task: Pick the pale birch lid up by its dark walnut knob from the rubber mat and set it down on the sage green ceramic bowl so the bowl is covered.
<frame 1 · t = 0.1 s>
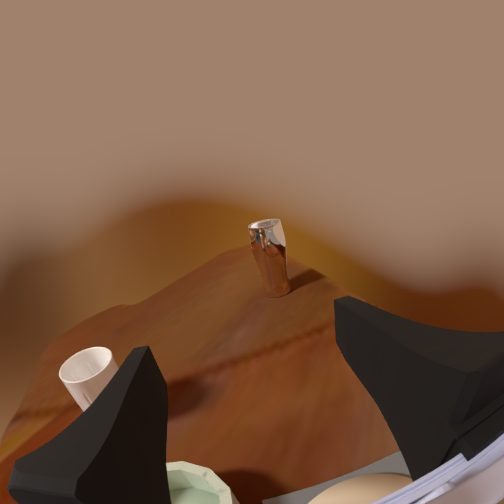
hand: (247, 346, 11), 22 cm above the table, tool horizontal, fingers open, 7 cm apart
beer glass: (277, 291, 66), on the table
white cup: (118, 419, 35), on the table
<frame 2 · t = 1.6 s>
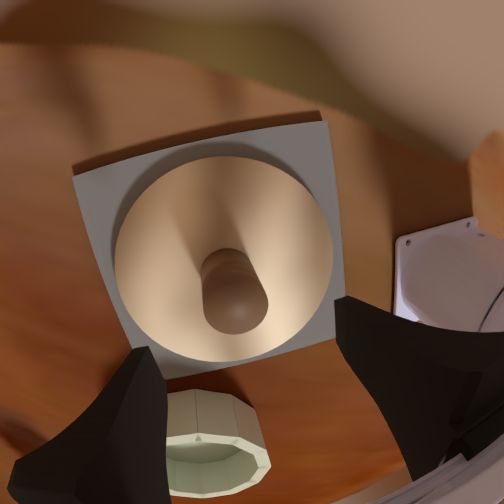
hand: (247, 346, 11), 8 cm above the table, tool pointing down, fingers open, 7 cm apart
lid: (225, 267, 18), point 1 cm above the table, touching mat
bowl: (197, 431, 24), on the table
mat: (224, 264, 19), on the table
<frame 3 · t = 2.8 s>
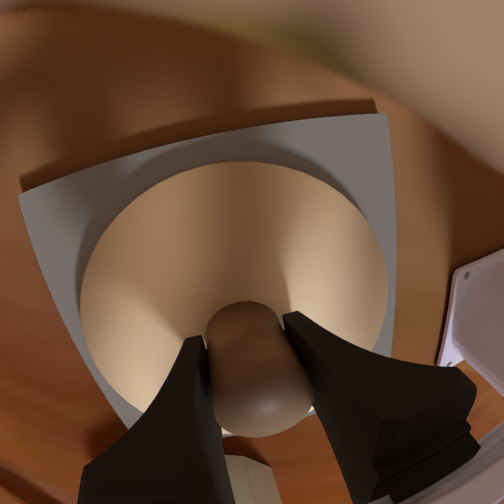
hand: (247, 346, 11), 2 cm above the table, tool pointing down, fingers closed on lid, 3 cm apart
lid: (240, 323, 13), point 1 cm above the table, touching gripper, mat
bowl: (202, 488, 18), on the table
mat: (238, 316, 13), on the table
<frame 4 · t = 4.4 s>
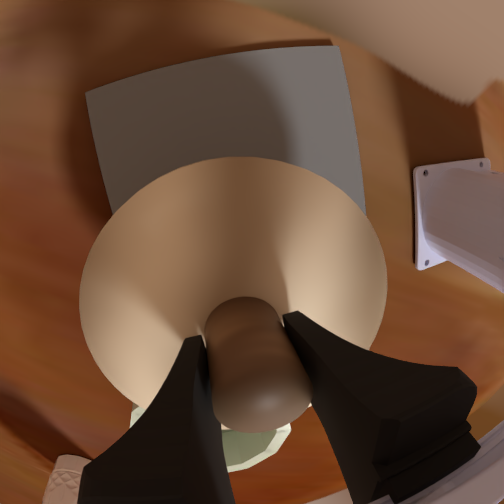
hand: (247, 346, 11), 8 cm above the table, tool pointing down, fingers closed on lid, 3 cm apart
lid: (239, 319, 13), point 7 cm above the table, touching gripper
bowl: (205, 394, 22), on the table
mat: (240, 182, 18), on the table
white cup: (83, 468, 24), on the table
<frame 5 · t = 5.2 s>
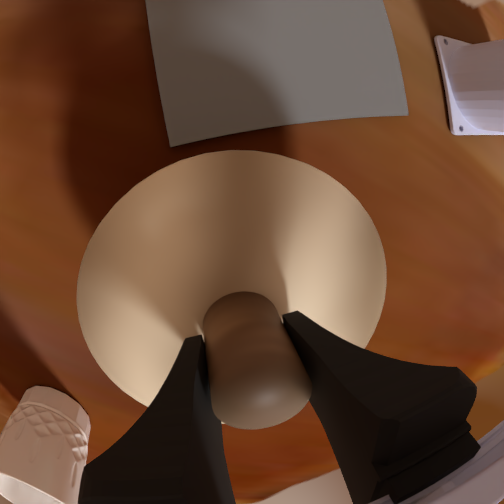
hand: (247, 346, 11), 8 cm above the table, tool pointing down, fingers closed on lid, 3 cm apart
lid: (238, 313, 13), point 6 cm above the table, touching gripper
mat: (278, 9, 14), on the table
white cup: (57, 410, 21), on the table
when the fingers open (7 cm above the table, at t = 5.7 s): lid stays where it is, resting on bowl.
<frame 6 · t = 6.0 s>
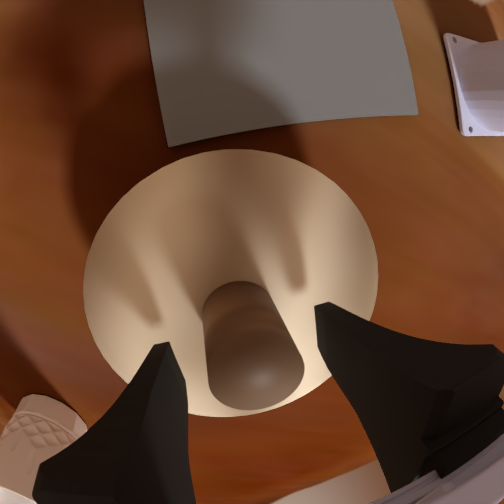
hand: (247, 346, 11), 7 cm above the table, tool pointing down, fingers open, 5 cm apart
lid: (236, 304, 13), point 4 cm above the table, touching bowl
mat: (282, 3, 13), on the table
white cup: (54, 418, 20), on the table
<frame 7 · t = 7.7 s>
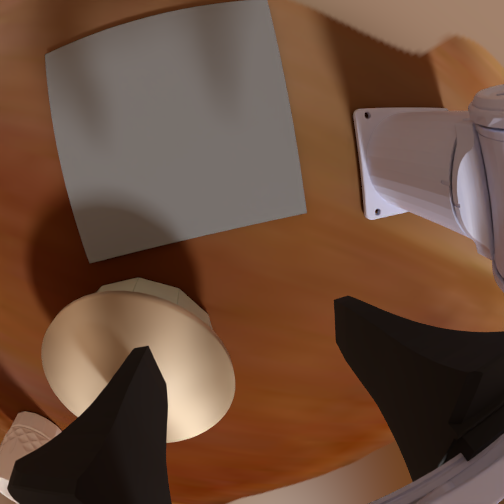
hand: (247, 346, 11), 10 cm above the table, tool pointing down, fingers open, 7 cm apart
lid: (135, 378, 18), point 4 cm above the table, touching bowl
bowl: (144, 343, 22), on the table
mat: (168, 122, 17), on the table
white cup: (42, 428, 24), on the table
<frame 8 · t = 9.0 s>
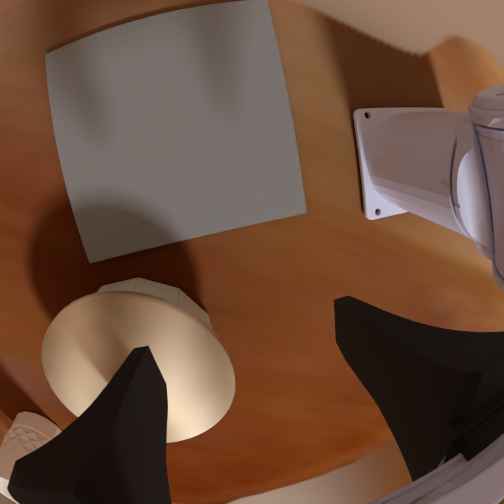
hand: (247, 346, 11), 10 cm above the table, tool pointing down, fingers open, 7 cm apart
lid: (135, 378, 18), point 4 cm above the table, touching bowl
bowl: (145, 343, 22), on the table
mat: (169, 122, 17), on the table
white cup: (42, 428, 24), on the table
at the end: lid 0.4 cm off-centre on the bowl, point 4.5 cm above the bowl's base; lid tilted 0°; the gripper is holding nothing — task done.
